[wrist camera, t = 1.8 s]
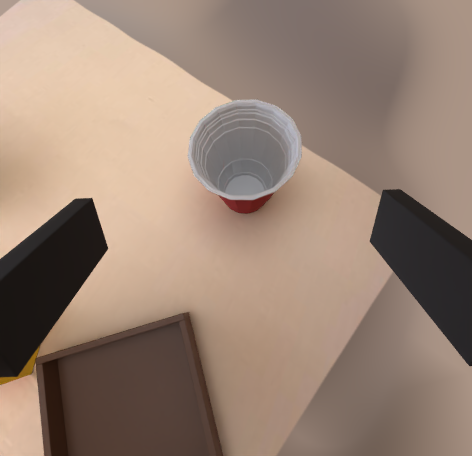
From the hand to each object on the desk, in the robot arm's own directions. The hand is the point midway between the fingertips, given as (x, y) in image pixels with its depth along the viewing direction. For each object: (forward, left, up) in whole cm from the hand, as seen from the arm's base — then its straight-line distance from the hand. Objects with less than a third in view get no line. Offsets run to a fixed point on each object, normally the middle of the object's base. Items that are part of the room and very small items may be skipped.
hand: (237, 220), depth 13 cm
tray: (-11, +16, -22) cm, 29 cm away
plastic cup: (+10, -3, -22) cm, 25 cm away
